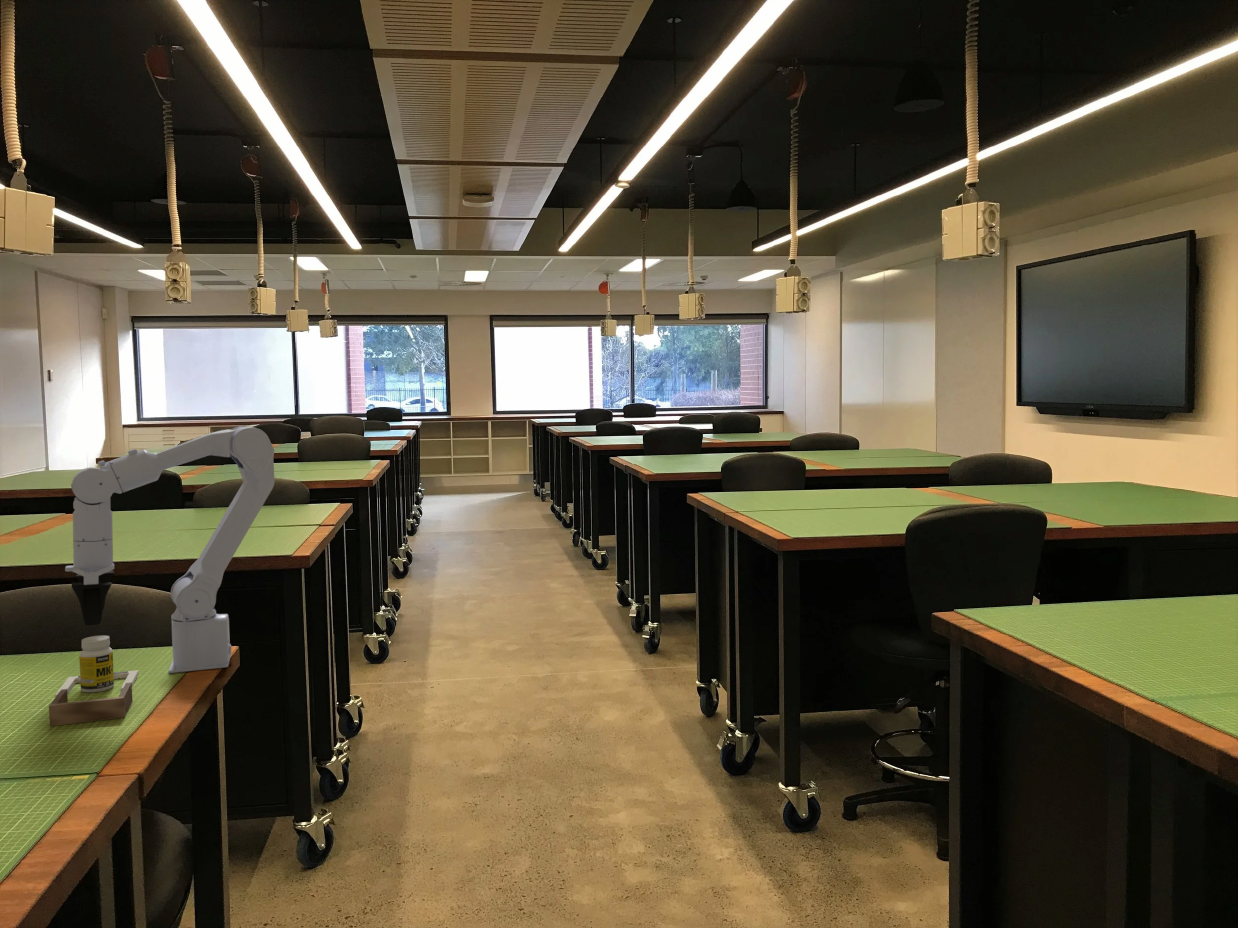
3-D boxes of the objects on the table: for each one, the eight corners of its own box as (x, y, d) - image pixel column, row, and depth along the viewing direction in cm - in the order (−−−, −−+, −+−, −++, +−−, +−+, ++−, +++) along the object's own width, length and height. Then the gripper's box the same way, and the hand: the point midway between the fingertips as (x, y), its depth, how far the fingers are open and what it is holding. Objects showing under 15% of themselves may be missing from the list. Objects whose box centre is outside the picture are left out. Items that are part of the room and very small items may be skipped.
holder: (132, 700, 140) (131, 682, 140) (124, 717, 133) (123, 697, 133) (62, 708, 137) (61, 689, 137) (49, 726, 130) (48, 705, 129)
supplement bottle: (98, 694, 144) (96, 642, 143) (73, 692, 144) (71, 641, 144) (121, 684, 148) (118, 635, 148) (96, 682, 149) (94, 633, 149)
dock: (138, 674, 154) (138, 669, 153) (129, 691, 144) (129, 686, 144) (68, 681, 150) (68, 676, 150) (55, 699, 141) (55, 694, 141)
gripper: (68, 534, 154) (69, 612, 154) (61, 546, 141) (62, 631, 142) (115, 532, 157) (116, 608, 158) (112, 544, 144) (113, 627, 145)
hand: (94, 619), depth 150 cm, fingers open, 7 cm apart
